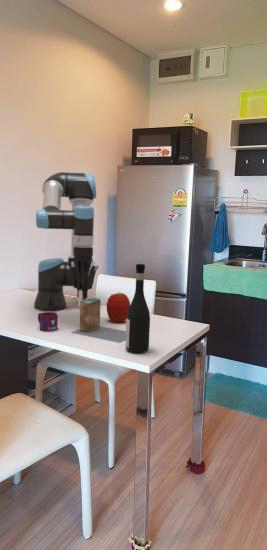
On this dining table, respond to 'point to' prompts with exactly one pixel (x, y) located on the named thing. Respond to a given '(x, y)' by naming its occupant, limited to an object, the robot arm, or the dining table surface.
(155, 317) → the dining table surface
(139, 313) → the wine bottle
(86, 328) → the block
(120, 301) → the apple
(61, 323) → the dining table surface
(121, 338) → the mat
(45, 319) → the mug
